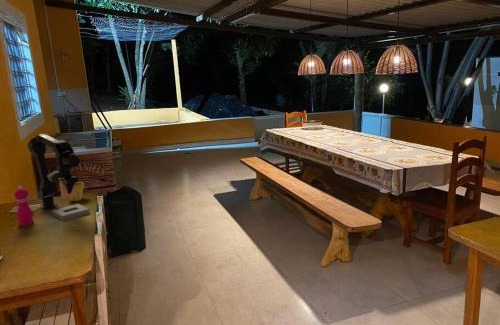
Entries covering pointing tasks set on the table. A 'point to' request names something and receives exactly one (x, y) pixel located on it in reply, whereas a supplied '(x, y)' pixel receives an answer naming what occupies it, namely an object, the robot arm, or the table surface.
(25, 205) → the pink bowling pin
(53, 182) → the robot arm
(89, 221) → the table surface
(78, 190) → the plant pot
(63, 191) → the keyed peg
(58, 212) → the socket block
